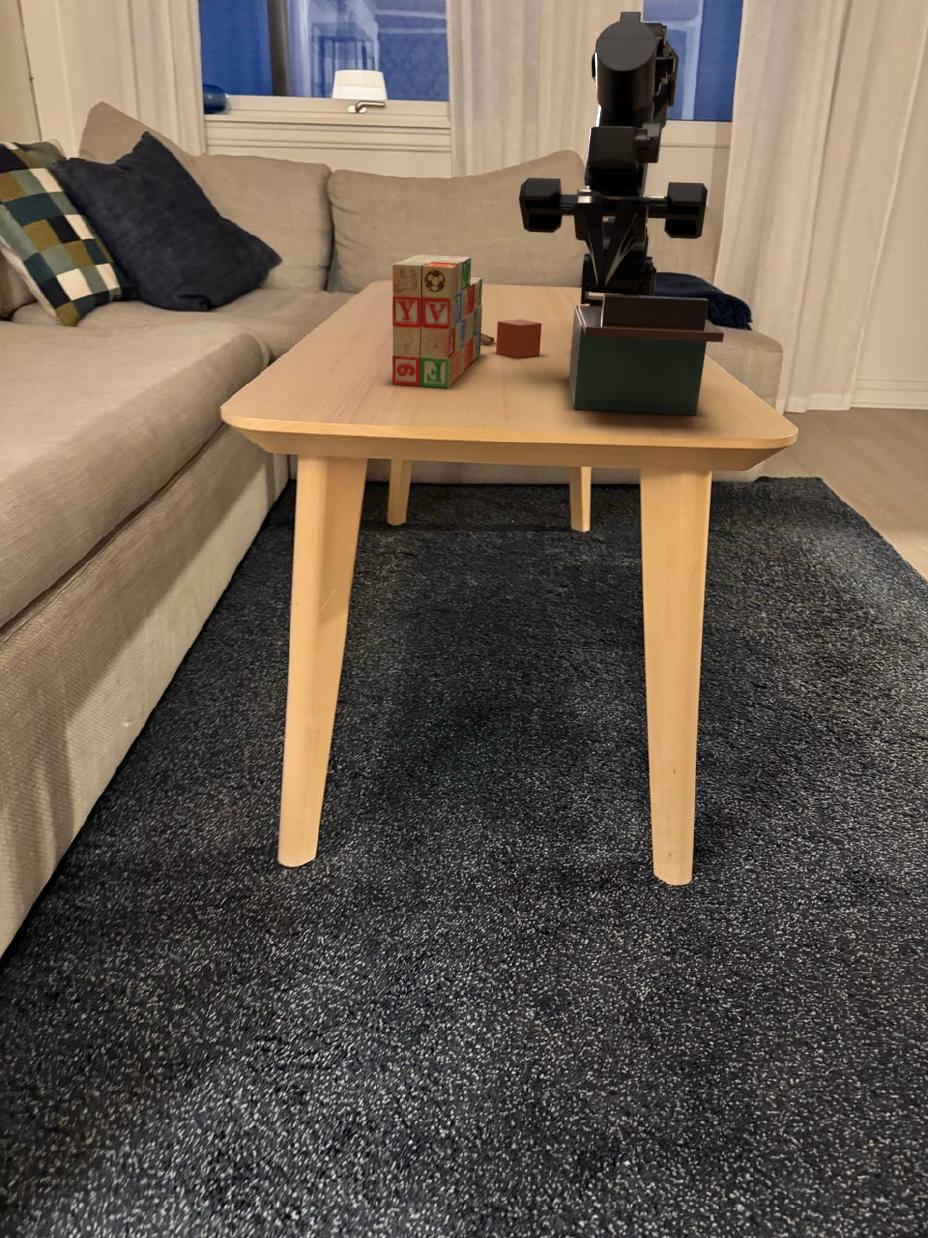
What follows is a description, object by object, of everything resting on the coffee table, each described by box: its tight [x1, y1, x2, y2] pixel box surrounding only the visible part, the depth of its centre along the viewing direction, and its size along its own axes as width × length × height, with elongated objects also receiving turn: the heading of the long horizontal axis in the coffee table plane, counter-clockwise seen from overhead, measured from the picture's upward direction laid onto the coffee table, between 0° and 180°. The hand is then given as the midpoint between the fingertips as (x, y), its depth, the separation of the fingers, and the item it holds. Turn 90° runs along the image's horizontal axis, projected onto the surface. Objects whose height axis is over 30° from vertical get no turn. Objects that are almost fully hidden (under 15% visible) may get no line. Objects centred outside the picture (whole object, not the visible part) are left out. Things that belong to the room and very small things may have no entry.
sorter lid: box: [577, 293, 725, 343], centre depth 85 cm, size 15×12×3 cm
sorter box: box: [568, 305, 708, 416], centre depth 94 cm, size 15×12×8 cm
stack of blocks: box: [391, 254, 483, 389], centre depth 104 cm, size 21×6×12 cm, turn 170°
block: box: [495, 318, 543, 359], centre depth 116 cm, size 4×4×4 cm
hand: (601, 283), depth 92 cm, fingers closed
